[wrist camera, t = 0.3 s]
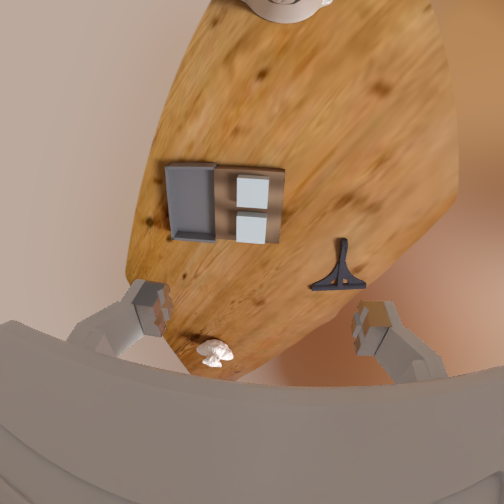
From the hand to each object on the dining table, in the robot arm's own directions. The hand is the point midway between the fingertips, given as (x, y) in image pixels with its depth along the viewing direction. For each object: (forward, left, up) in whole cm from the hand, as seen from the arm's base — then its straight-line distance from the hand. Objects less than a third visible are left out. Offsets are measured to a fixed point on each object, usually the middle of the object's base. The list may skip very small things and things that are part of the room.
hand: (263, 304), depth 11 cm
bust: (+63, -14, -46) cm, 79 cm away
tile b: (+19, -4, -44) cm, 48 cm away
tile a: (+11, -4, -44) cm, 45 cm away
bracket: (+29, +18, -47) cm, 58 cm away
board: (+15, -5, -46) cm, 49 cm away
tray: (+15, -17, -46) cm, 51 cm away
